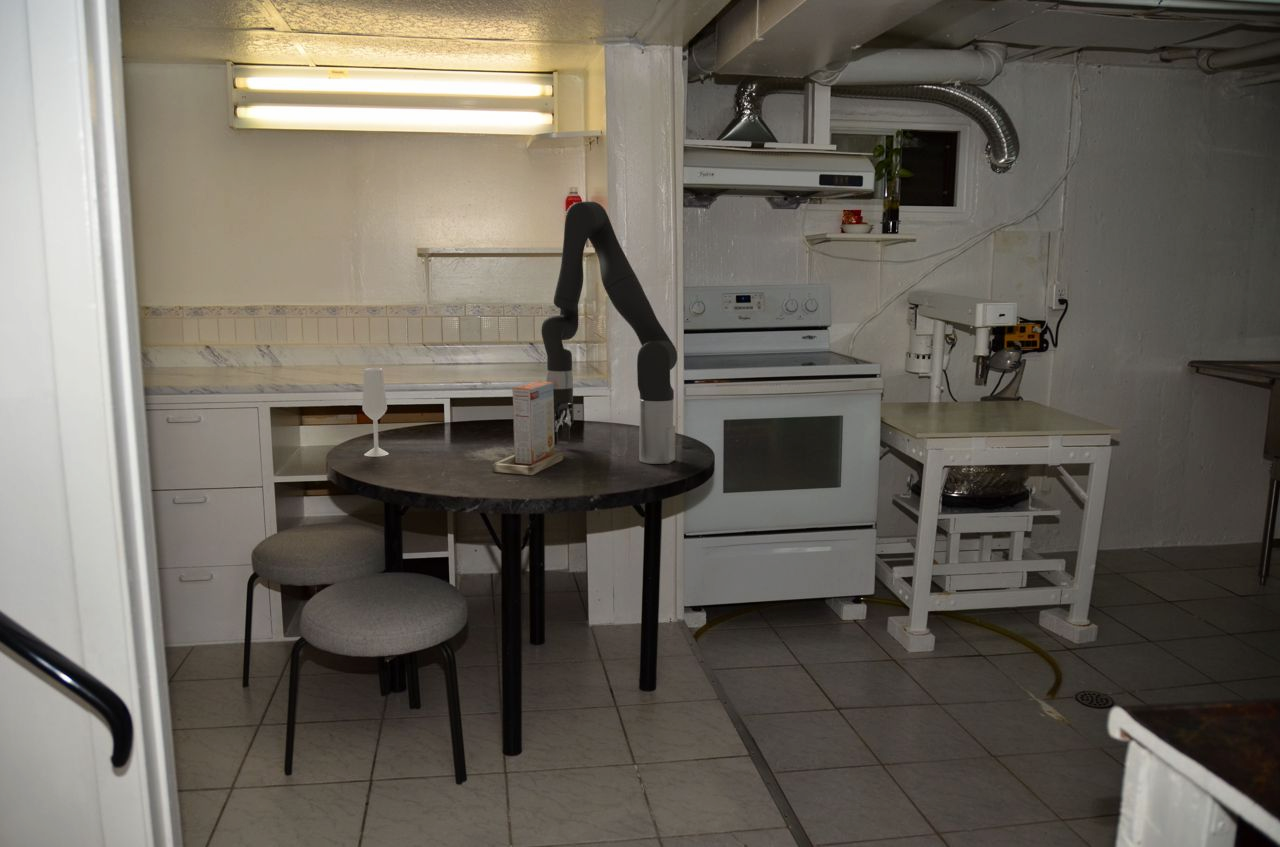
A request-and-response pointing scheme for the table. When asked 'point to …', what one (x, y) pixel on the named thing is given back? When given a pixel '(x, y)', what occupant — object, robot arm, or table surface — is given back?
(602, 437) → the table surface
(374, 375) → the champagne flute
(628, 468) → the table surface
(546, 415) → the cracker box
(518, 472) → the outline frame
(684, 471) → the table surface
